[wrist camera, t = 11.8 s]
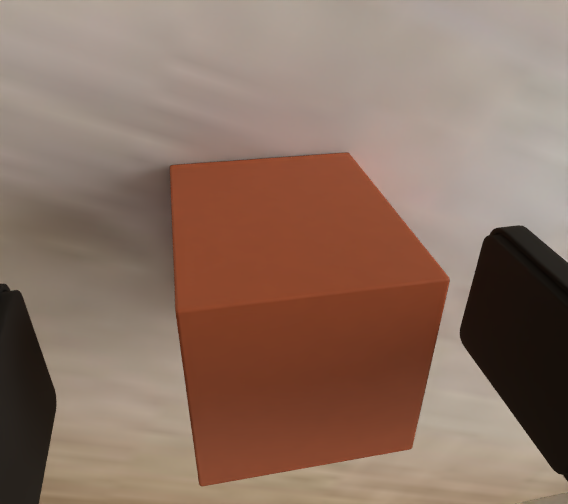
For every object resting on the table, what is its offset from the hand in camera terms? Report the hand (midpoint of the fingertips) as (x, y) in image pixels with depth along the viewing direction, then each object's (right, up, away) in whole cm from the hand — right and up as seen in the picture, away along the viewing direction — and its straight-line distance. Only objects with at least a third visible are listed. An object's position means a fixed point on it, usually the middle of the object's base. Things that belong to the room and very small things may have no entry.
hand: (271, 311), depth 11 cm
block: (0, +2, +3) cm, 4 cm away
